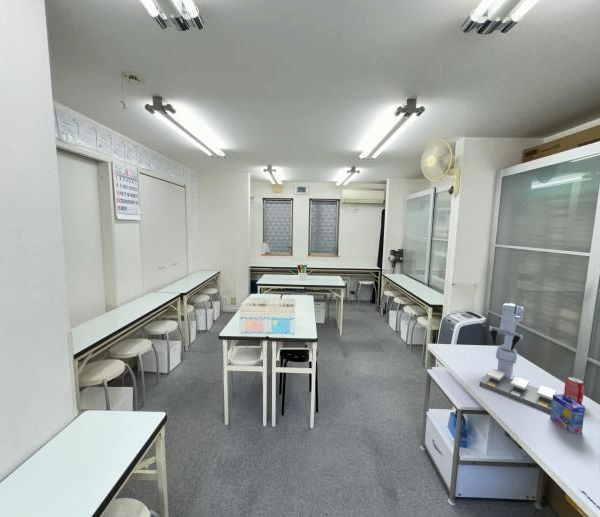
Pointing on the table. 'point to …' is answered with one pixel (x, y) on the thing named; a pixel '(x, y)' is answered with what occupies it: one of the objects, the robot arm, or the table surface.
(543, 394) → the switch
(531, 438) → the table surface
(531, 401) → the switch panel
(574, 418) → the ink cartridge box
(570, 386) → the soda can
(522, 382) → the switch
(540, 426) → the table surface
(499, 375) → the switch
